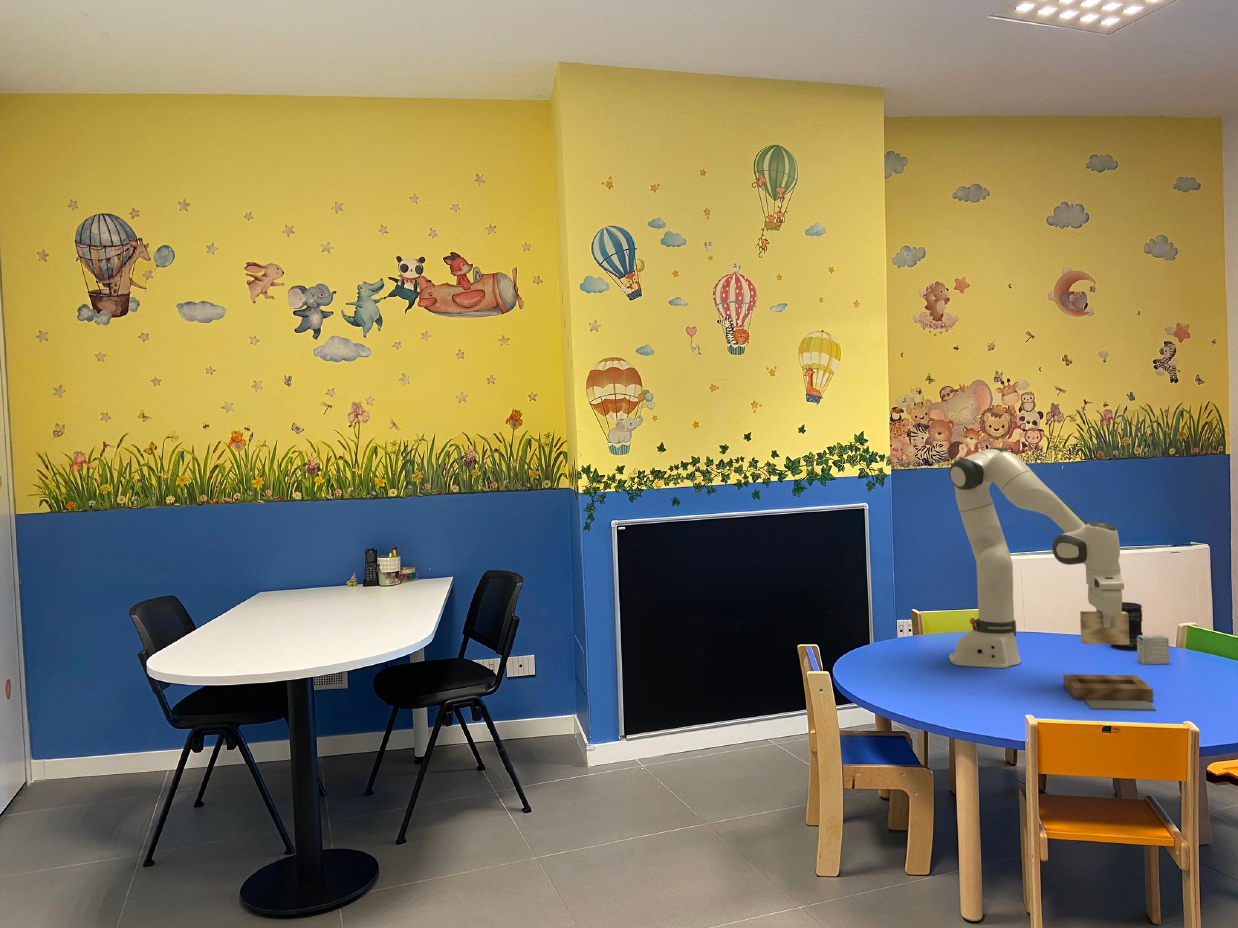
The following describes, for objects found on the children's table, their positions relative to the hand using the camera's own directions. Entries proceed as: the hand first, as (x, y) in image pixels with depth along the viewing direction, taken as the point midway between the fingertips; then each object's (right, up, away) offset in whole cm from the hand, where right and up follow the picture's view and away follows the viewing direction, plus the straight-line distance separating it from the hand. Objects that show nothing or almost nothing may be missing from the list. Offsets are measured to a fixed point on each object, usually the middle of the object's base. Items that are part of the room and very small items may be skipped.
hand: (1104, 625), depth 258 cm
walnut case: (+1, -20, +1) cm, 20 cm away
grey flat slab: (-2, -20, -11) cm, 23 cm away
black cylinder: (+35, -17, +49) cm, 62 cm away
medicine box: (+32, -18, +29) cm, 46 cm away
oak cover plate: (0, -5, 0) cm, 5 cm away
